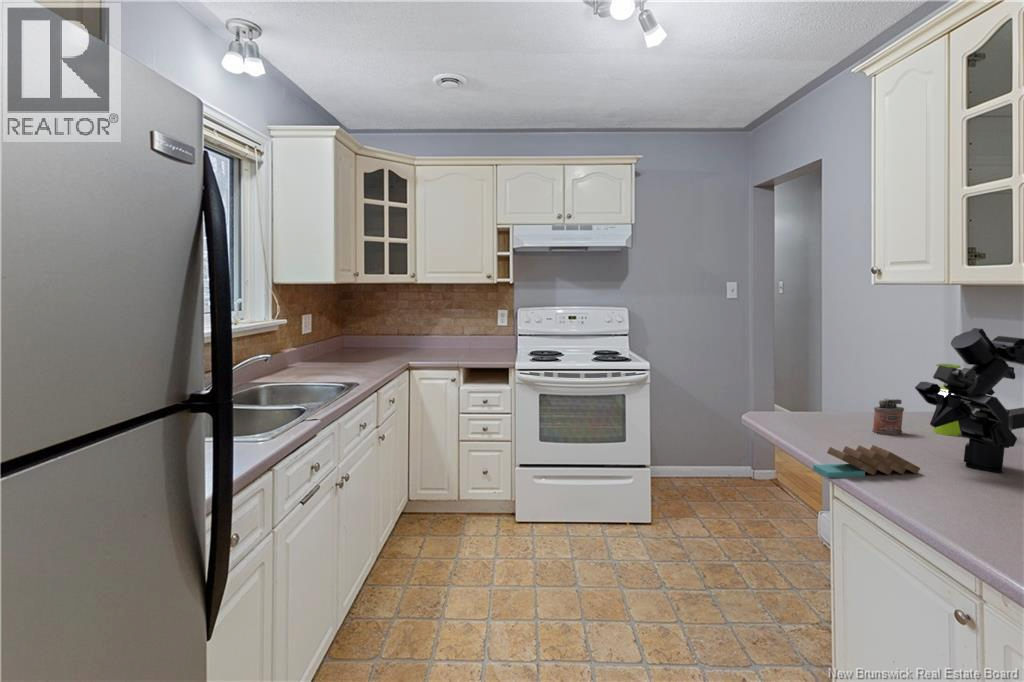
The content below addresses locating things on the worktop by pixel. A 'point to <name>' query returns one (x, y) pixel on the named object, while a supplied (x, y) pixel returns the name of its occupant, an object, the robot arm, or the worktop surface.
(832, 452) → the domino
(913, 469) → the domino
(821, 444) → the worktop surface
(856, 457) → the domino
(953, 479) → the worktop surface
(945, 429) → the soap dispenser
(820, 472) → the domino
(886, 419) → the red tin can
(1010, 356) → the robot arm
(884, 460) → the domino
